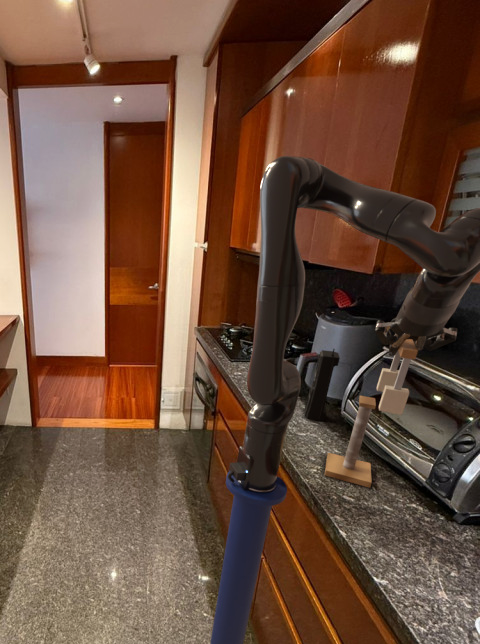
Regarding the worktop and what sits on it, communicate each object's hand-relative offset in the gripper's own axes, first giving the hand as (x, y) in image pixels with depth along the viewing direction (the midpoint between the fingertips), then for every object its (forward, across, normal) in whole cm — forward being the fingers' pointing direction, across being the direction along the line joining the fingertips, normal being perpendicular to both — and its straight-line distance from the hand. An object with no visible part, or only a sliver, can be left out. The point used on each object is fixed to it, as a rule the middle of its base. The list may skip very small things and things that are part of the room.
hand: (401, 352), depth 86 cm
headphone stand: (+27, +3, +22) cm, 35 cm away
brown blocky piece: (+6, 0, +9) cm, 11 cm away
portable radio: (+50, +14, 0) cm, 51 cm away
